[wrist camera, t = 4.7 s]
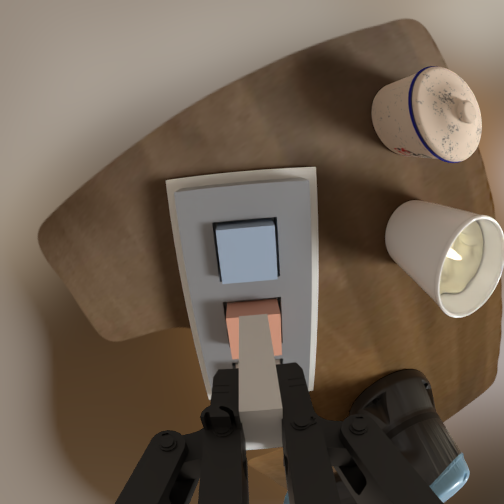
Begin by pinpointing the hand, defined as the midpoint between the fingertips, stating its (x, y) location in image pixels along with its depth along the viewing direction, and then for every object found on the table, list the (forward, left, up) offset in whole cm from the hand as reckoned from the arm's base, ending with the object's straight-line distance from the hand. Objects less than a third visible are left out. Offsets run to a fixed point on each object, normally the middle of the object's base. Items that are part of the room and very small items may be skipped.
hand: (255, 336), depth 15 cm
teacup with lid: (+14, -20, -16) cm, 29 cm away
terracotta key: (-7, 0, -13) cm, 15 cm away
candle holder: (0, -20, -16) cm, 26 cm away
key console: (-7, 0, -16) cm, 18 cm away
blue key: (+1, 0, -14) cm, 14 cm away
